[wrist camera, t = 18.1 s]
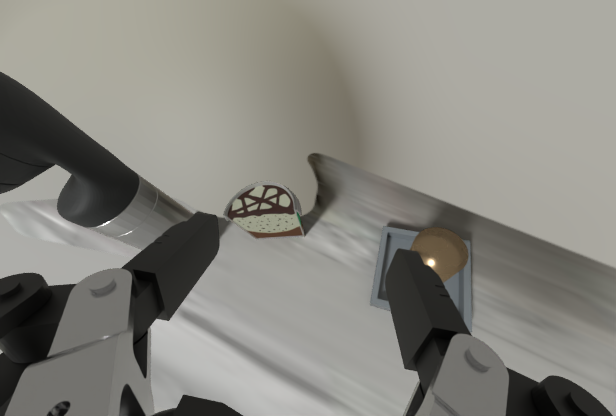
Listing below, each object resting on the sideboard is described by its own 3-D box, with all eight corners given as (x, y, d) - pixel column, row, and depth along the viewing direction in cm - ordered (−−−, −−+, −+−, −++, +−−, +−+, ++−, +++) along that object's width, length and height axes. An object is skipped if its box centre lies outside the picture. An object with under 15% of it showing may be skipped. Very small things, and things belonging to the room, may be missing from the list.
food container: (313, 206, 43) (300, 173, 34) (312, 236, 39) (297, 208, 31) (254, 211, 45) (228, 182, 37) (249, 239, 42) (220, 215, 34)
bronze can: (398, 288, 32) (411, 267, 22) (401, 255, 34) (414, 223, 24) (438, 298, 30) (469, 280, 21) (439, 262, 32) (467, 231, 23)
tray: (370, 305, 32) (370, 302, 30) (382, 232, 37) (383, 226, 35) (464, 332, 28) (471, 332, 26) (463, 247, 33) (470, 240, 31)
